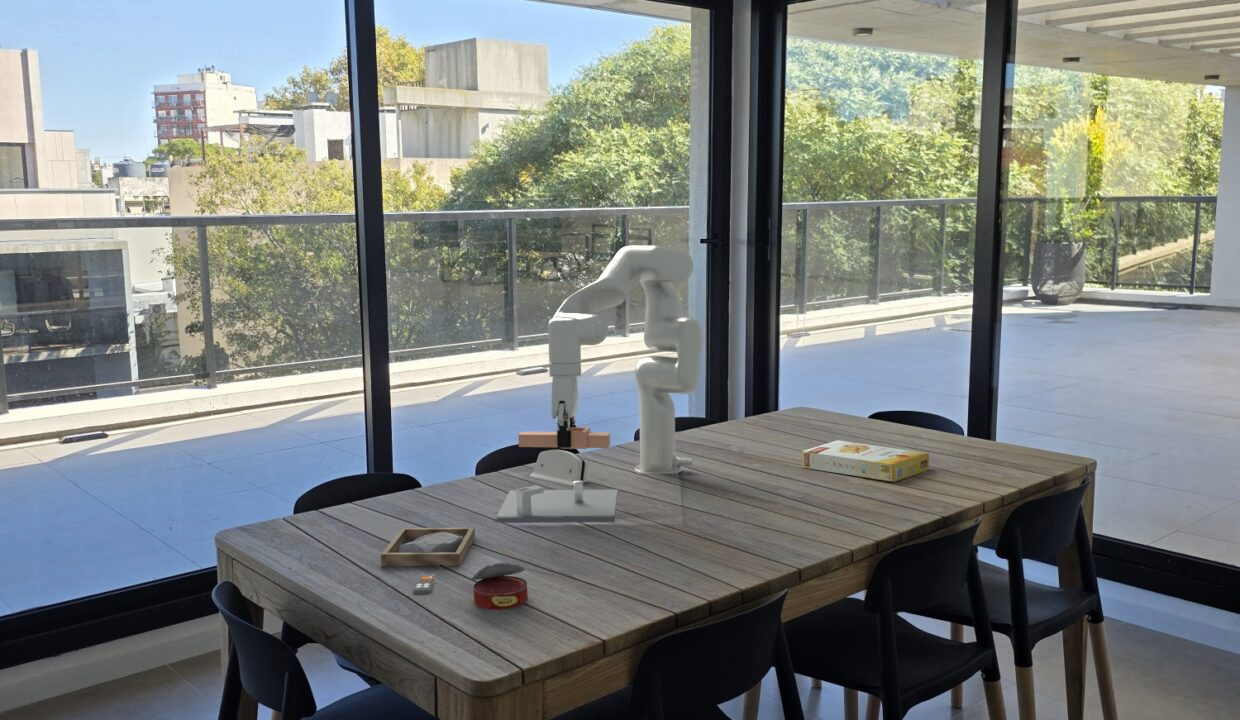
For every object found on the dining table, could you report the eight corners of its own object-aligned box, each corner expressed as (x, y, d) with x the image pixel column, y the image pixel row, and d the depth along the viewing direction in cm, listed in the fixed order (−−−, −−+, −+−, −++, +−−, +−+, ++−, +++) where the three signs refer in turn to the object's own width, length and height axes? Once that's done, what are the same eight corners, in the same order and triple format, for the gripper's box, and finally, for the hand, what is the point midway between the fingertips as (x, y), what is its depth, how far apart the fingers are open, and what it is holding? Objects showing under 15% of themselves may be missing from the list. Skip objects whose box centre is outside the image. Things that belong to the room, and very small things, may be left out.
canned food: (477, 631, 195) (450, 583, 195) (502, 606, 205) (476, 560, 204) (524, 611, 191) (496, 562, 190) (548, 586, 200) (521, 540, 199)
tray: (474, 538, 235) (474, 527, 235) (460, 565, 217) (459, 553, 217) (402, 539, 235) (401, 528, 235) (381, 566, 218) (380, 554, 217)
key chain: (432, 595, 202) (432, 588, 202) (412, 596, 202) (412, 589, 201) (439, 572, 215) (439, 565, 214) (421, 573, 214) (420, 566, 214)
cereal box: (894, 463, 274) (800, 448, 293) (894, 484, 275) (799, 468, 293) (930, 451, 289) (838, 437, 308) (929, 471, 290) (837, 456, 309)
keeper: (537, 515, 252) (536, 485, 251) (544, 517, 250) (543, 487, 249) (516, 519, 249) (515, 489, 248) (523, 522, 247) (522, 491, 246)
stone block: (395, 568, 223) (432, 565, 217) (391, 545, 222) (428, 542, 217) (433, 553, 233) (468, 551, 228) (429, 532, 233) (464, 529, 228)
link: (610, 443, 258) (610, 427, 258) (607, 449, 252) (606, 432, 252) (523, 442, 261) (522, 426, 260) (517, 448, 255) (517, 431, 255)
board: (617, 495, 268) (617, 489, 268) (614, 521, 246) (614, 515, 245) (510, 496, 269) (510, 490, 269) (496, 522, 247) (496, 516, 246)
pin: (583, 506, 259) (583, 480, 258) (583, 509, 257) (582, 482, 256) (574, 506, 259) (573, 480, 258) (573, 509, 257) (573, 482, 256)
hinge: (526, 481, 283) (535, 444, 285) (539, 484, 287) (547, 447, 288) (572, 492, 272) (580, 453, 273) (584, 494, 276) (592, 456, 277)
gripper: (556, 364, 263) (558, 436, 265) (542, 374, 246) (544, 452, 248) (586, 364, 262) (588, 436, 264) (574, 375, 245) (576, 452, 247)
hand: (566, 443), depth 256 cm, fingers closed on link, 6 cm apart
